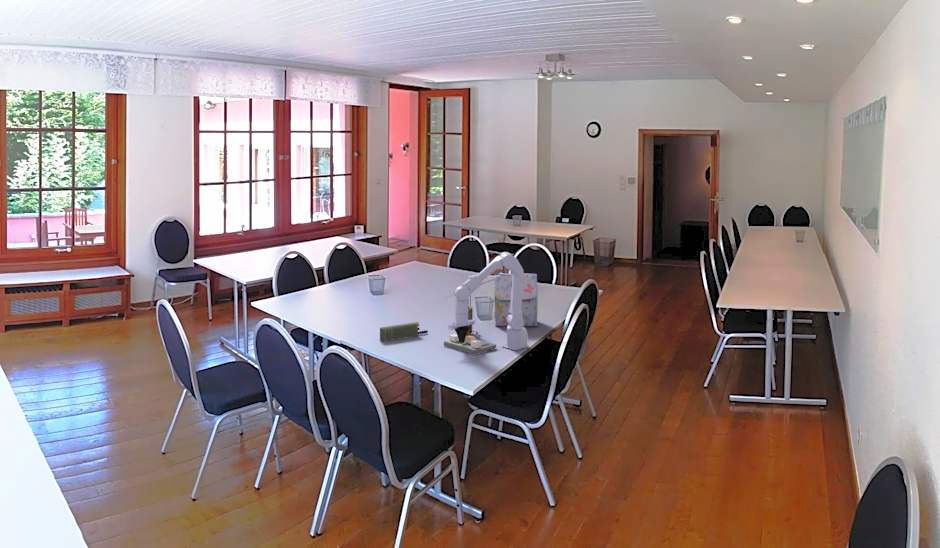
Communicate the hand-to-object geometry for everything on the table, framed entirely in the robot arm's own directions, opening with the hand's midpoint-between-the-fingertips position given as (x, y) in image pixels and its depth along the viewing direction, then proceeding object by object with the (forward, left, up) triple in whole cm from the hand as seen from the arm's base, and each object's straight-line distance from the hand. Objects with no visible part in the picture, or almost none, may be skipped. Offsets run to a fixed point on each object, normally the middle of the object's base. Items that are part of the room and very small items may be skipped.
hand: (461, 342), depth 342 cm
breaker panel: (-5, 0, -3) cm, 6 cm away
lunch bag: (-51, -14, -4) cm, 53 cm away
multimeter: (-21, -13, -4) cm, 25 cm away
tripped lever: (-5, 0, -1) cm, 5 cm away
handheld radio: (+6, -34, -4) cm, 34 cm away
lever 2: (-2, +7, -1) cm, 7 cm away
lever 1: (-2, -7, -1) cm, 7 cm away
